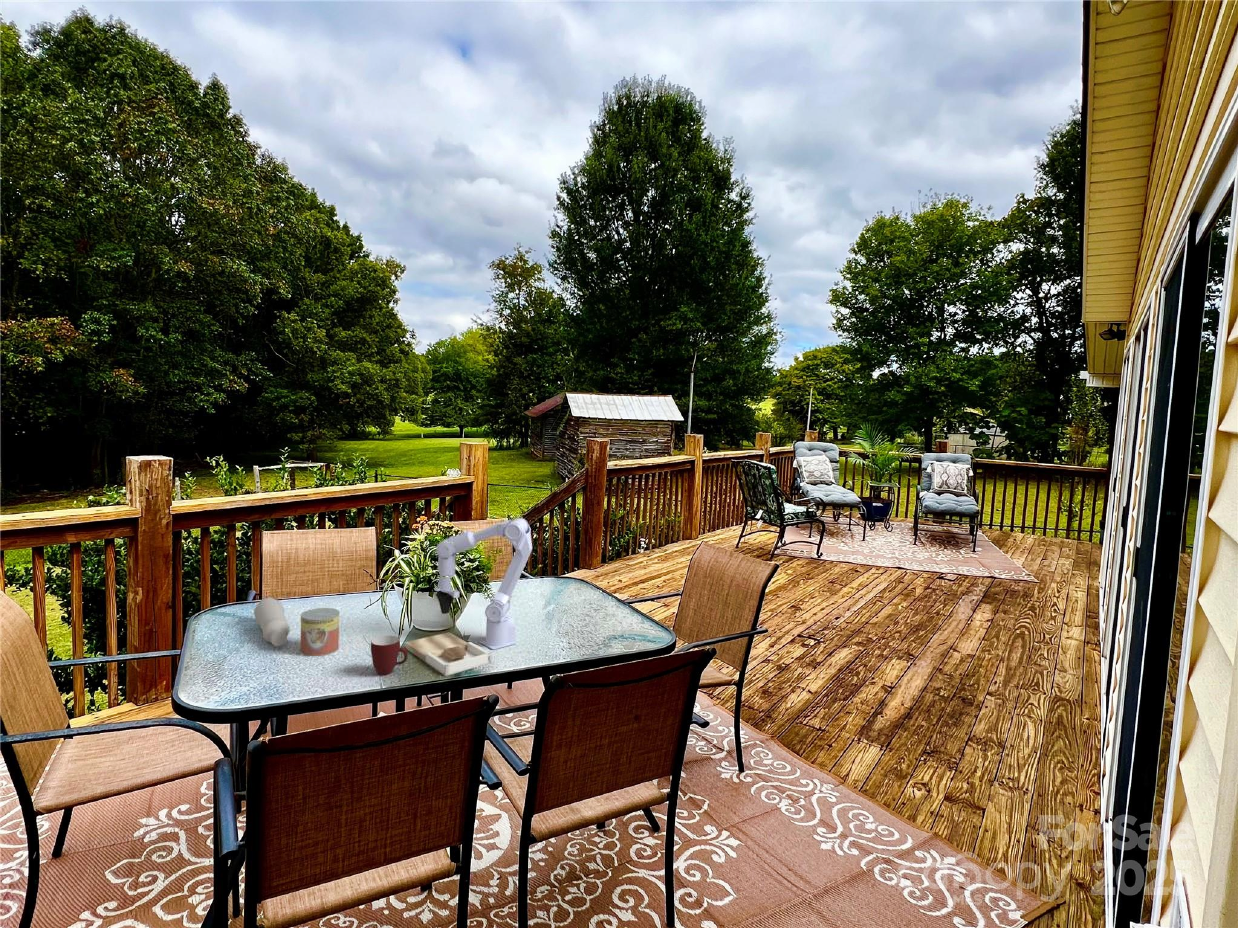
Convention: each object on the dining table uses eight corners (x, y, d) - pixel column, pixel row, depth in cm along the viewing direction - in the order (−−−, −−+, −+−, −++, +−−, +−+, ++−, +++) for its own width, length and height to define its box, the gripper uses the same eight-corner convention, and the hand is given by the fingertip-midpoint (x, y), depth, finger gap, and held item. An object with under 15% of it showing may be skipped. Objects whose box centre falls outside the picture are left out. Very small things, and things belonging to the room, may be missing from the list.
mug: (408, 665, 195) (409, 634, 194) (406, 676, 187) (407, 644, 186) (371, 667, 192) (372, 635, 191) (368, 679, 184) (369, 645, 183)
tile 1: (457, 650, 204) (458, 645, 204) (465, 655, 200) (466, 650, 200) (443, 653, 200) (444, 649, 200) (451, 659, 197) (451, 654, 197)
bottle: (247, 614, 221) (256, 646, 197) (264, 591, 224) (275, 620, 199) (271, 624, 226) (283, 657, 202) (287, 602, 228) (301, 632, 204)
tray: (470, 650, 209) (470, 641, 209) (491, 662, 200) (491, 653, 200) (425, 662, 198) (425, 652, 198) (445, 675, 189) (445, 666, 189)
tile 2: (455, 653, 205) (456, 649, 205) (463, 658, 201) (464, 654, 201) (441, 657, 201) (442, 652, 201) (449, 662, 198) (450, 657, 198)
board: (448, 637, 219) (449, 632, 219) (470, 650, 209) (470, 644, 209) (405, 648, 208) (405, 642, 208) (425, 661, 198) (425, 655, 198)
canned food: (296, 657, 196) (296, 620, 195) (304, 643, 207) (304, 608, 206) (335, 655, 199) (336, 618, 198) (341, 642, 210) (342, 607, 209)
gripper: (425, 571, 218) (424, 609, 219) (446, 581, 207) (445, 621, 209) (444, 568, 223) (442, 605, 224) (465, 577, 212) (464, 616, 214)
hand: (445, 612), depth 217 cm, fingers closed
